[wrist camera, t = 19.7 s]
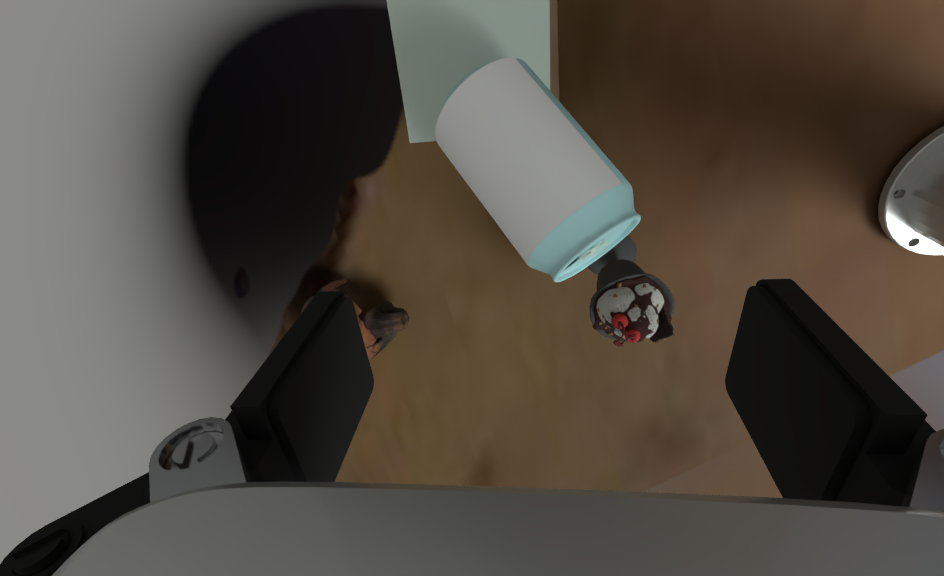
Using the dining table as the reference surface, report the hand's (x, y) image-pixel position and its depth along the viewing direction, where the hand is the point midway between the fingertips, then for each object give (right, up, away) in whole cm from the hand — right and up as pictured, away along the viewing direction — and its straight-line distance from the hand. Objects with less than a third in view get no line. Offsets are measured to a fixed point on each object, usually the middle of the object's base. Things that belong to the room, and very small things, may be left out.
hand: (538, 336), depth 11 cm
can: (-1, +13, +17) cm, 21 cm away
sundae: (+12, +5, +35) cm, 37 cm away
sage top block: (-1, +18, +22) cm, 29 cm away
